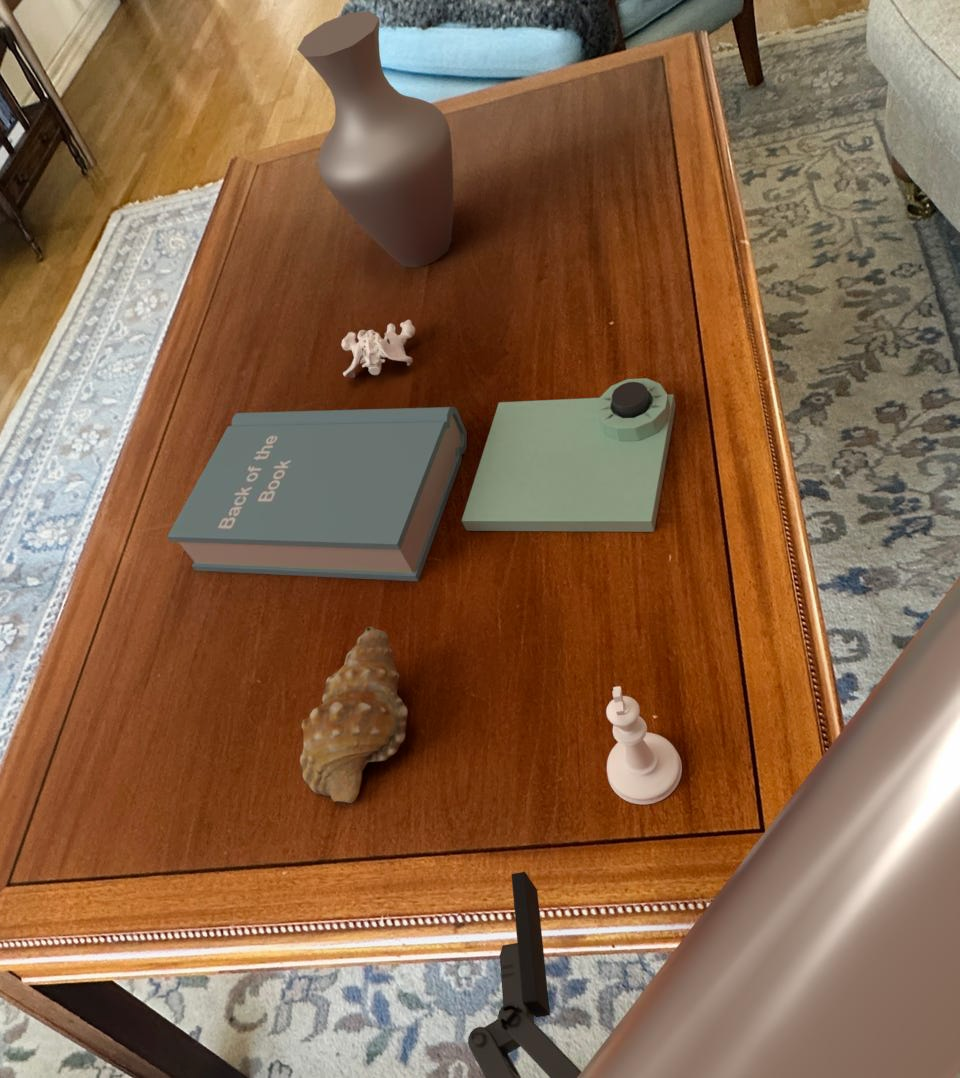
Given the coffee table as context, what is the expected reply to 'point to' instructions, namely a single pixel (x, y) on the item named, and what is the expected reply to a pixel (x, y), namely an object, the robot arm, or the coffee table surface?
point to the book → (324, 493)
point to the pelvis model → (377, 348)
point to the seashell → (354, 720)
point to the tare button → (631, 400)
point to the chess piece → (639, 756)
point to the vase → (382, 145)
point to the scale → (572, 466)
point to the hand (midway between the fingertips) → (647, 858)
